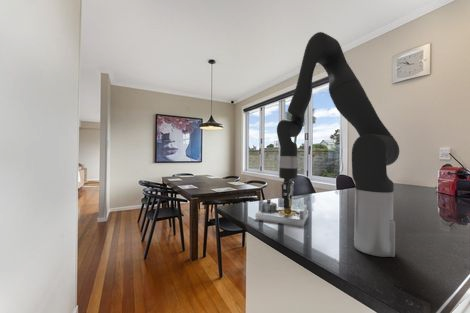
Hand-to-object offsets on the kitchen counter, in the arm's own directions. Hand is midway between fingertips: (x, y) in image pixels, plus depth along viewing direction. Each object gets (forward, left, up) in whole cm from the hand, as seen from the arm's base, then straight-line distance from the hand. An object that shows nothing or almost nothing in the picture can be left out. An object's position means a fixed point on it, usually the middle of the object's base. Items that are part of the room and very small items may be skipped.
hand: (287, 206), depth 89 cm
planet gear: (0, 0, -5) cm, 5 cm away
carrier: (+2, 0, -5) cm, 5 cm away
